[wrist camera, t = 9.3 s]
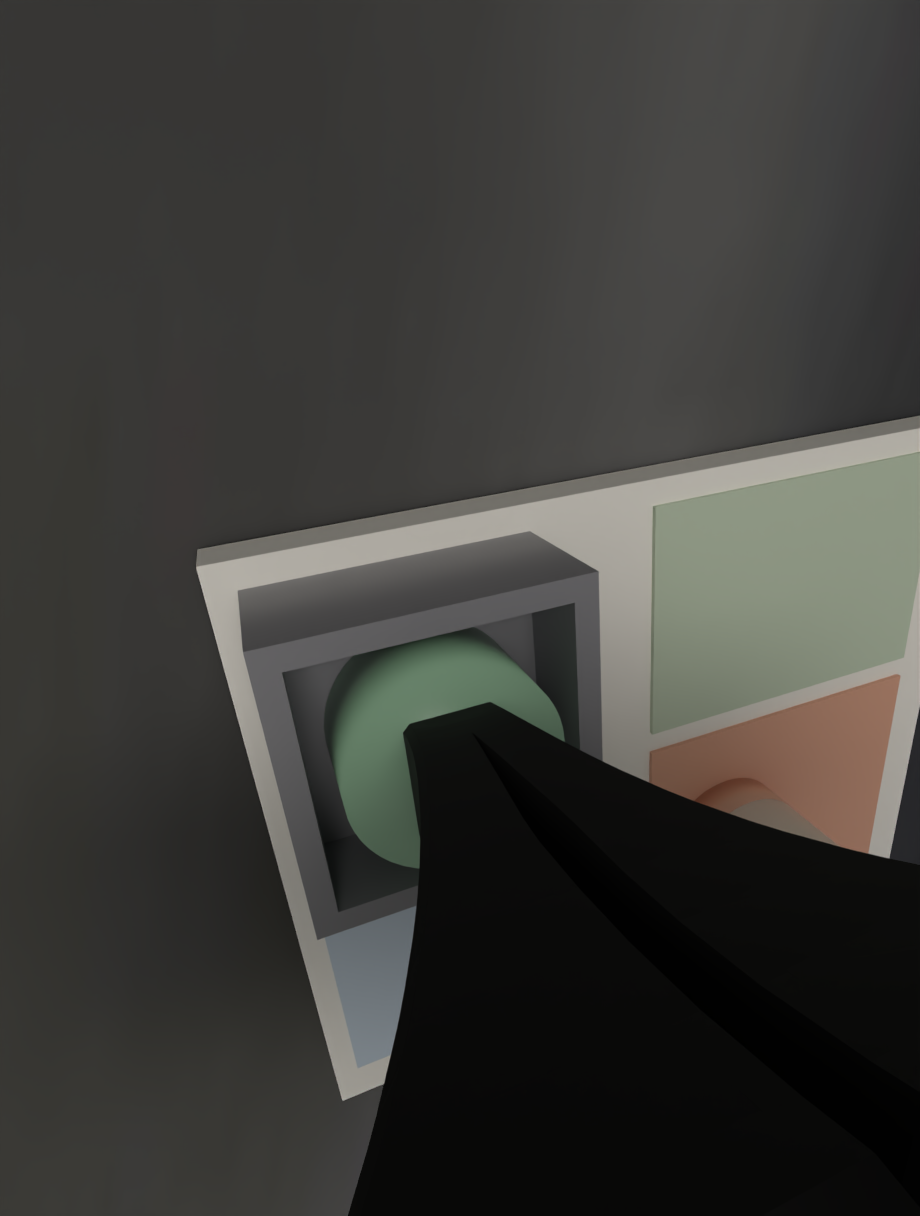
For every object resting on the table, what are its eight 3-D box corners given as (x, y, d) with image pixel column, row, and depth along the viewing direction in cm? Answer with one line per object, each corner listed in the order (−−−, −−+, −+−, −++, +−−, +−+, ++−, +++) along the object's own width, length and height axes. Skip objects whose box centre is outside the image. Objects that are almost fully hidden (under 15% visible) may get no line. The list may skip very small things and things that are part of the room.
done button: (510, 598, 11) (560, 641, 9) (523, 767, 12) (569, 828, 11) (305, 646, 10) (321, 701, 9) (342, 821, 11) (363, 898, 10)
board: (932, 413, 15) (981, 417, 14) (856, 853, 20) (888, 878, 19) (197, 549, 11) (195, 568, 10) (335, 1059, 16) (343, 1105, 15)
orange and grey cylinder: (782, 759, 16) (1141, 1020, 10) (770, 861, 17) (1081, 1151, 11) (667, 797, 15) (980, 1109, 9) (663, 902, 16) (935, 1239, 10)
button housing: (529, 530, 12) (598, 571, 10) (544, 764, 14) (603, 840, 12) (237, 590, 10) (243, 652, 8) (300, 839, 12) (317, 940, 10)
